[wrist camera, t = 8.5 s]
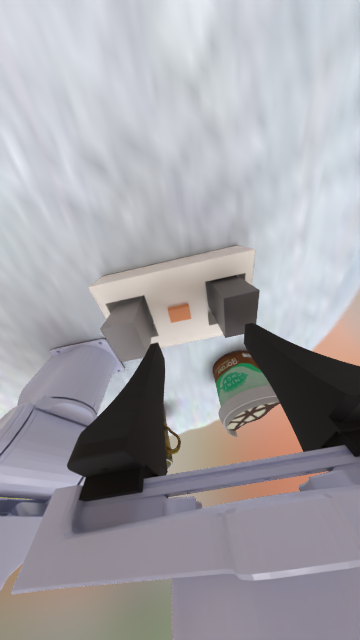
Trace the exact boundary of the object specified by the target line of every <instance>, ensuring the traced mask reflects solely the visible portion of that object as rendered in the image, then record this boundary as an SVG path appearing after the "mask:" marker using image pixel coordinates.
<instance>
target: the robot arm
mask: <svg viewBox="0 0 360 640" xmlns="http://www.w3.org/2000/svg"><path fill="white" fill-rule="evenodd" d="M244 344H245V346H246V348H247V350H248V352H249V354H250V355H251V357H252V358H253V360H254V361H255V363H256V364H257V366H258V367H259V369H260V370H261V371H262V373H263V374H264V376H265V377H266V379H267V380H268V382H269V384H270V385H271V387H272V389H273V391H274V392H275V394H276V396H277V398H278V400H279V402H280V404H281V406H282V407H283V409H284V411H285V413H286V415H287V417H288V419H289V421H290V423H291V425H292V428H293V430H294V432H295V434H296V436H297V438H298V441H299V443H300V445H301V447H302V450H303V452H301V453H295V454H289V455H283V456H277V457H272V458H265V459H260V460H253V461H247V462H241V463H236V464H230V465H224V466H218V467H212V468H206V469H200V470H194V471H188V472H182V473H176V474H171V475H166V474H167V460H166V446H165V430H164V405H163V400H164V382H165V360H164V357H163V354H162V351H161V349H160V346H159V343H158V342H157V343H152V344H150V346H149V348H148V350H147V352H146V354H145V356H144V358H143V359H142V361H141V363H140V365H139V366H138V368H137V370H136V371H135V373H134V374H133V376H132V377H131V379H130V380H129V382H128V383H127V384H126V386H125V387H124V388H123V390H122V391H121V392H120V393H119V394H118V396H117V397H116V398H115V399H114V400H113V402H112V403H111V404H110V405H109V406H108V407H107V408H106V409H105V410H104V411H103V412H102V413H101V414H100V415H99V416H97V413H98V411H99V408H100V405H101V403H102V400H103V397H104V394H105V392H106V389H107V386H108V384H109V381H110V378H111V376H112V374H114V373H119V372H123V371H124V370H125V368H124V366H123V365H122V363H121V362H120V360H119V359H118V357H117V355H116V354H115V352H114V351H113V349H112V348H111V346H110V344H109V343H108V341H107V340H106V339H99V340H94V341H89V342H84V343H80V344H75V345H70V346H65V347H61V348H56V349H52V350H50V351H49V353H50V354H51V355H52V357H51V358H50V359H49V360H48V362H47V363H46V364H45V365H44V366H43V367H42V368H41V369H40V371H39V372H38V373H37V374H36V375H35V376H34V377H33V378H32V379H31V381H30V382H29V383H28V384H27V385H26V386H25V388H24V389H23V390H22V392H21V394H20V396H19V400H18V406H16V407H14V408H13V409H11V410H10V411H9V412H8V413H7V414H5V415H4V416H3V417H2V418H1V419H0V497H8V498H25V499H31V500H22V499H6V498H5V499H4V498H0V591H1V589H2V587H3V585H4V583H5V581H6V579H7V578H8V577H9V576H10V575H11V573H12V572H14V571H15V570H16V569H17V568H18V567H19V566H20V565H21V564H22V563H23V562H24V563H23V565H22V567H21V570H20V572H19V574H18V577H17V579H16V581H15V584H14V586H13V588H12V594H19V593H26V592H34V591H42V590H50V589H59V588H69V587H80V586H91V585H102V584H103V585H104V584H115V583H126V582H138V581H148V580H160V579H171V586H172V587H171V589H172V590H171V592H172V593H171V595H172V640H360V366H356V365H353V364H349V363H346V362H342V361H339V360H336V359H333V358H330V357H326V356H324V355H321V354H318V353H315V352H312V351H310V350H307V349H305V348H302V347H300V346H298V345H295V344H293V343H291V342H289V341H287V340H285V339H282V338H280V337H278V336H277V335H275V334H273V333H271V332H269V331H267V330H265V329H264V328H262V327H260V326H258V325H256V324H254V323H249V324H245V334H244ZM325 471H329V472H327V473H323V474H320V475H316V476H313V477H309V480H308V481H307V482H306V483H304V484H302V485H300V486H299V490H300V491H299V492H292V493H284V494H277V495H270V496H265V497H258V498H252V499H246V500H241V501H236V502H231V503H226V504H220V505H216V506H211V507H206V508H202V504H201V502H197V501H196V499H195V497H175V498H168V497H172V496H178V495H184V494H190V493H196V492H203V491H209V490H215V489H221V488H227V487H233V486H239V485H246V484H252V483H258V482H264V481H270V480H277V479H283V478H289V477H295V476H301V475H307V474H313V473H320V472H325Z"/></svg>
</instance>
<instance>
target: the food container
mask: <svg viewBox="0 0 360 640" xmlns="http://www.w3.org/2000/svg"><path fill="white" fill-rule="evenodd" d="M213 374H214V378H215V383H216V387H217V392H218V396H219V401H220V405H221V408H220V410H219V417H220V420H221V422H222V424H223V426H224V428H225V429H226V430H227V432H228V433H229V434H230V435H232V436H236V437H237V433H236V430H237V429H239V428H240V427H241V426H243V425H245V424H246V423H249V422H252V421H255V420H258V419H260V418H262V417H263V416H264V415H266V414H267V413H268V412H269V411H270V410H271V409H272V408H274V407H275V406H276V405H278V404H280V402H279V400H278V398H277V396H276V394H275V392H274V391H273V389H272V387H271V385H270V384H269V382H268V380H267V379H266V377H265V376H264V374H263V373H262V371H261V370H260V369H259V367H258V366H257V364H256V363H255V361H254V360H253V358H252V357H251V355H250V354H249V352H248V351H236V352H232V353H229V354H226V355H224V356H223V357H221V358H220V359H219V360H218V361H217V362H216V363H215V365H214V367H213Z"/></svg>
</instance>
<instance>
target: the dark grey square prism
mask: <svg viewBox="0 0 360 640" xmlns="http://www.w3.org/2000/svg"><path fill="white" fill-rule="evenodd" d="M206 291H207V300H208V307H209V308H210V310H211V312H212V314H213V316H214V318H215V320H216V321H217V323H218V325H219V327H220V329H221V331H222V333H223V334H224V336H225V338H227V337H231V336H236V335H241V334H245V324H249V323H254V324H256V319H257V310H258V300H259V290H258V289H257V288H255V287H254V286H252V285H251V284H249V283H248V282H246V281H245V280H243V279H242V278H240V277H239V276H237V275H234V276H229V277H224V278H220V279H215V280H211V281H206Z"/></svg>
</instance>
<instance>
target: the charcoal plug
mask: <svg viewBox="0 0 360 640" xmlns="http://www.w3.org/2000/svg"><path fill="white" fill-rule="evenodd" d="M153 322H154V321H153V318H152V315H151V313H150V310H149V307H148V304H147V302H146V299H145V296H144V295H143V296H138V297H134V298H129V299H125V300H120V301H118V303H117V304H116V306H115V307H114V309H113V311H112V312H111V314H110V315H109V317H108V318H107V320H106V321H105V323H104V324H103V326H102V327H101V329H100V330H101V331H102V333H103V334H104V336H105V337H106V339H107V341H108V342H109V344H110V345H111V347H112V349H113V350H114V352H115V353H116V355H117V356H118V358H119V360H120V361H121V362H124V361H129V360H134V359H139V358H144V356H145V354H146V352H147V350H148V348H149V346H150V344H151V337H152V330H153Z"/></svg>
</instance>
